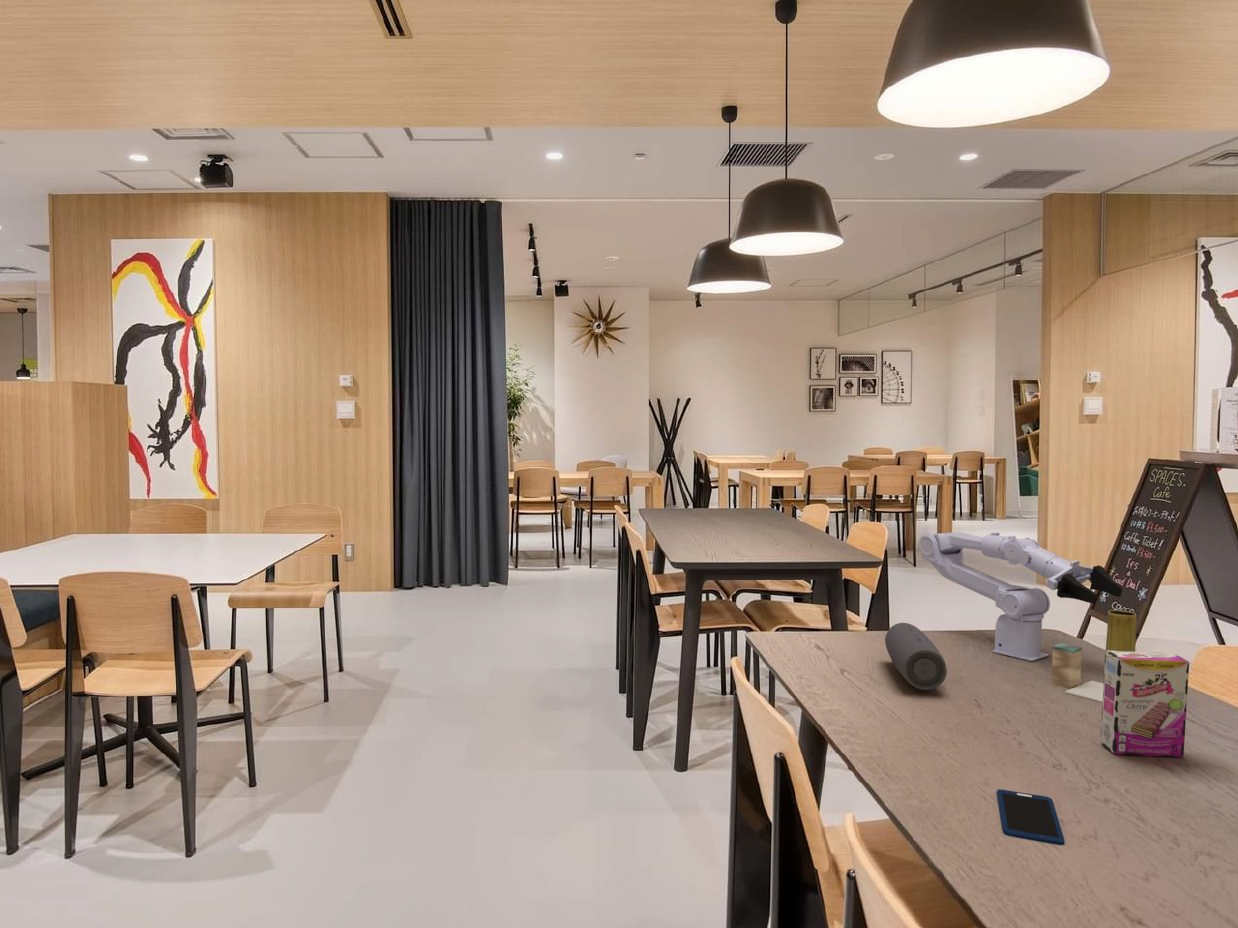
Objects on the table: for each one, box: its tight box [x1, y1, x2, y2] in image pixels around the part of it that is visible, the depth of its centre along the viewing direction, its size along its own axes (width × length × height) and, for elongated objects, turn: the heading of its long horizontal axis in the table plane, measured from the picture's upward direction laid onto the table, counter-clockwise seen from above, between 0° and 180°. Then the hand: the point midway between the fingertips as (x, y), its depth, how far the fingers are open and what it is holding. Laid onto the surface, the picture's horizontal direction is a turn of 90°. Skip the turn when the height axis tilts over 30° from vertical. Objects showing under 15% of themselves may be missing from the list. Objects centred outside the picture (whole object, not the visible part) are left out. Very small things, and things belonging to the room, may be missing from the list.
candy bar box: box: [1100, 650, 1190, 758], centre depth 133 cm, size 11×5×16 cm, turn 84°
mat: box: [1064, 680, 1104, 704], centre depth 163 cm, size 9×12×1 cm
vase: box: [1102, 609, 1137, 676], centre depth 172 cm, size 6×6×14 cm
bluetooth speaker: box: [884, 622, 948, 691], centre depth 171 cm, size 23×9×10 cm, turn 171°
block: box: [1051, 642, 1083, 689], centre depth 168 cm, size 4×4×8 cm
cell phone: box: [996, 789, 1065, 846], centre depth 111 cm, size 7×14×1 cm, turn 158°
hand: (1108, 595), depth 170 cm, fingers open, 7 cm apart
